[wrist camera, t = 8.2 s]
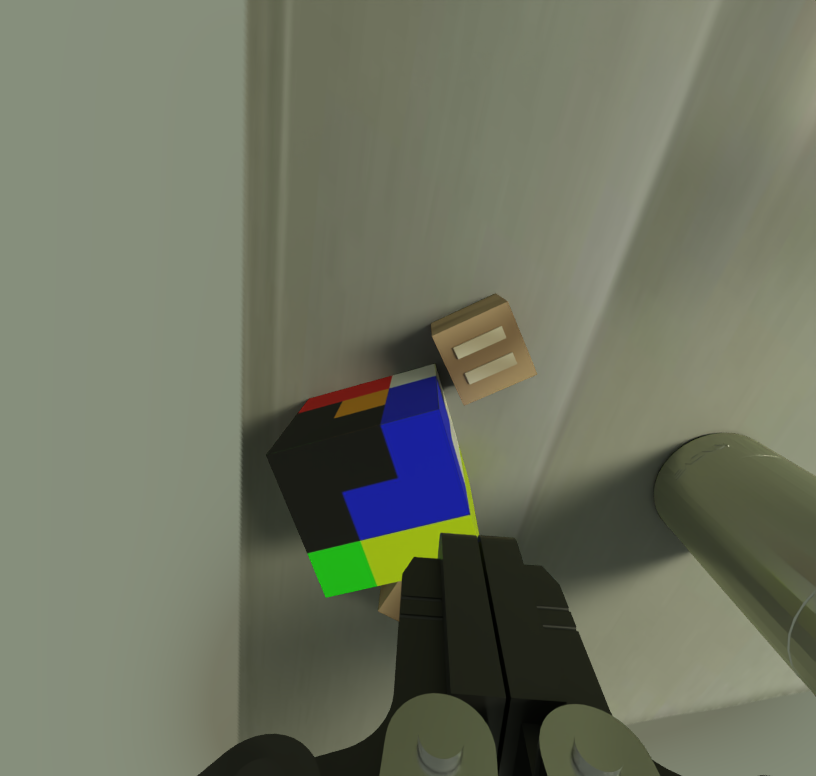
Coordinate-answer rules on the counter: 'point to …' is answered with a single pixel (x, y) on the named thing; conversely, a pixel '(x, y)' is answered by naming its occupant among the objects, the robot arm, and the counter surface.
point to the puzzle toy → (374, 479)
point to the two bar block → (482, 348)
